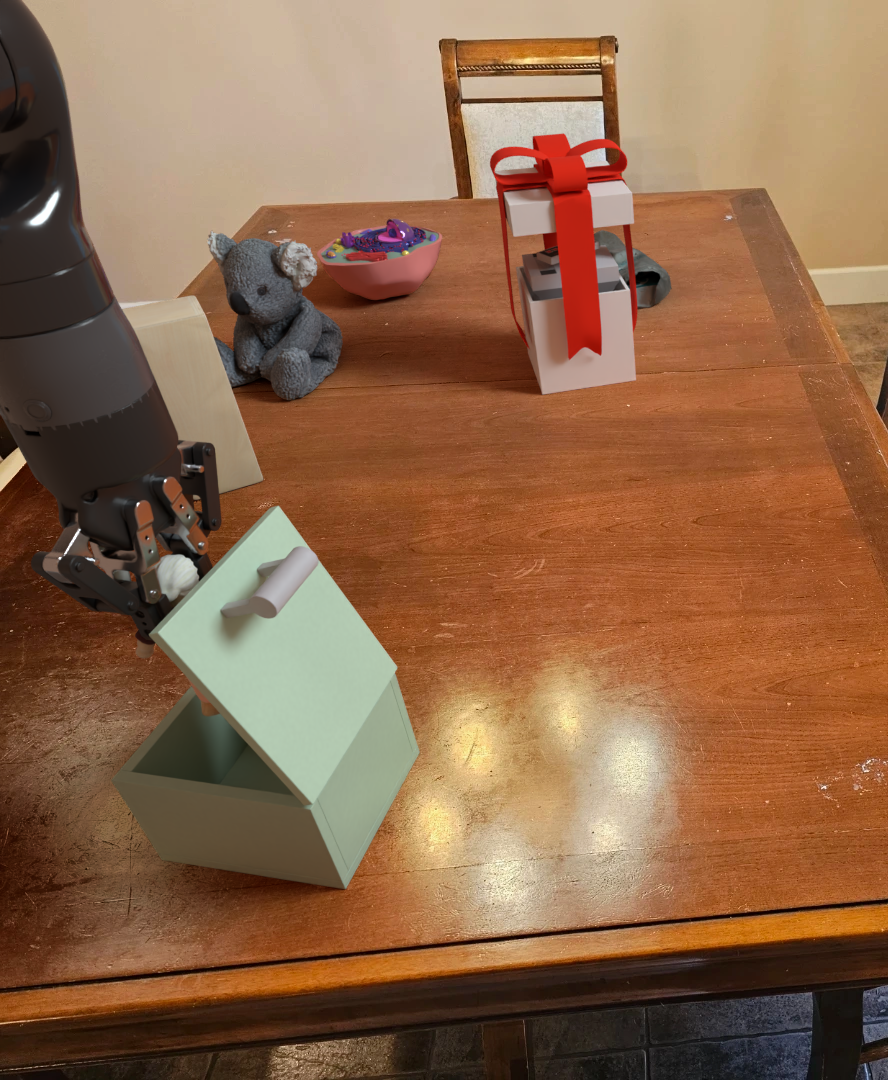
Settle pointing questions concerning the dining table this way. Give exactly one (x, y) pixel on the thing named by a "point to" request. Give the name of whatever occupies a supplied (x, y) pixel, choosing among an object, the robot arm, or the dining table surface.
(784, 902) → the dining table surface
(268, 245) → the koala plush
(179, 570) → the grandmother figurine
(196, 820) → the compartment
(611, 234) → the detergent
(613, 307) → the white gift box
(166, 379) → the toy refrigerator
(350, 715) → the lid
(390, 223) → the cell model
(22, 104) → the robot arm
